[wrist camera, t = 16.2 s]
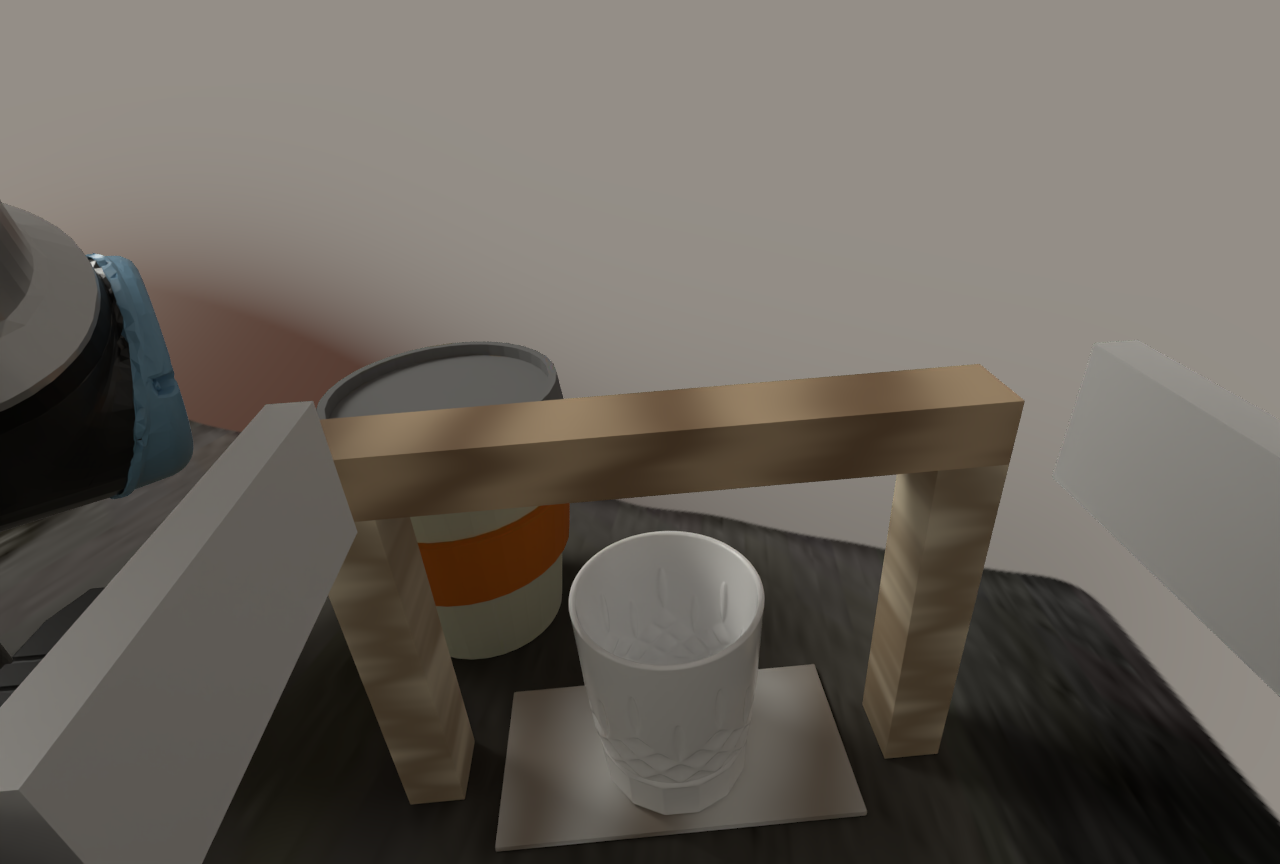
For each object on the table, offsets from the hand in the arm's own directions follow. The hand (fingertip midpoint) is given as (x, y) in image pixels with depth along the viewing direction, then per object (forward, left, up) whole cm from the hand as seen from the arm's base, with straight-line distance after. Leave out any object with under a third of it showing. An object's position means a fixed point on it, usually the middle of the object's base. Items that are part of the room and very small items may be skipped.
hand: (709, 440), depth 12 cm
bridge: (-9, +5, -23) cm, 26 cm away
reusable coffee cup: (-24, +2, -24) cm, 34 cm away
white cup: (-9, +5, -23) cm, 26 cm away
